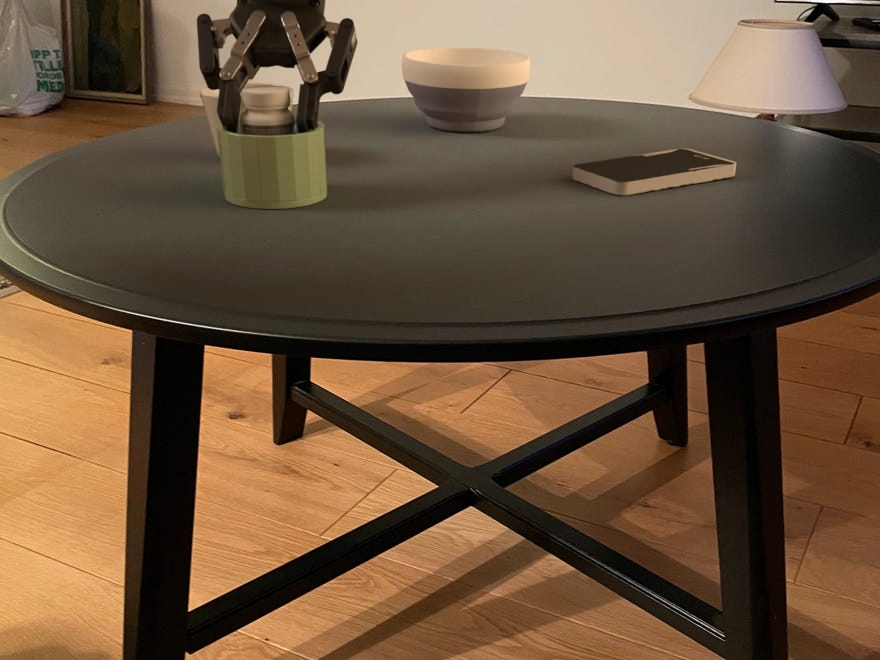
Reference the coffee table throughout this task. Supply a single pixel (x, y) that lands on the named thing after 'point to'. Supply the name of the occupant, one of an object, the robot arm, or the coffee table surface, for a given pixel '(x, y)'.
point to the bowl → (465, 86)
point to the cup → (273, 168)
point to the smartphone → (653, 171)
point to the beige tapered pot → (211, 104)
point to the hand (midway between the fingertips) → (266, 128)
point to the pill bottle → (267, 111)
